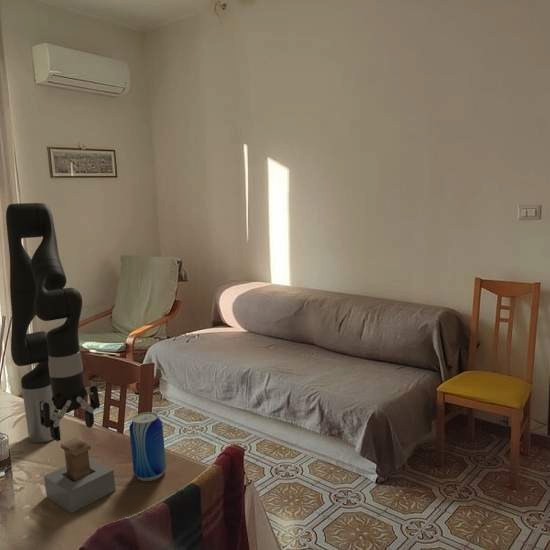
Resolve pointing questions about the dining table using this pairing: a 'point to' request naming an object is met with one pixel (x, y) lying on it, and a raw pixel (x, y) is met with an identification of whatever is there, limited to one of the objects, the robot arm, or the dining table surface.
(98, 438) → the dining table surface
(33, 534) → the dining table surface
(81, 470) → the tall wooden block
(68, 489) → the well block
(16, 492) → the dining table surface
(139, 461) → the beer can
